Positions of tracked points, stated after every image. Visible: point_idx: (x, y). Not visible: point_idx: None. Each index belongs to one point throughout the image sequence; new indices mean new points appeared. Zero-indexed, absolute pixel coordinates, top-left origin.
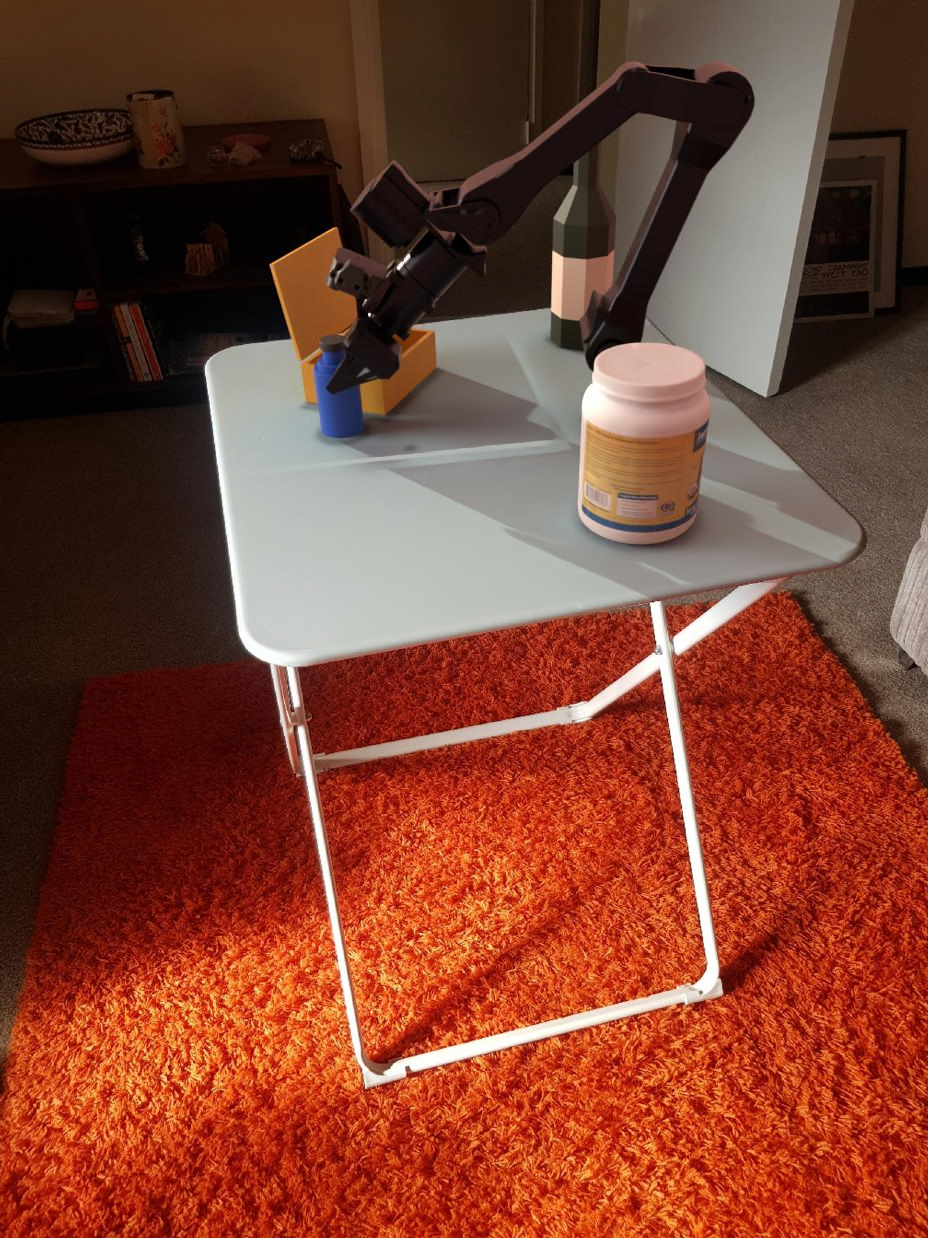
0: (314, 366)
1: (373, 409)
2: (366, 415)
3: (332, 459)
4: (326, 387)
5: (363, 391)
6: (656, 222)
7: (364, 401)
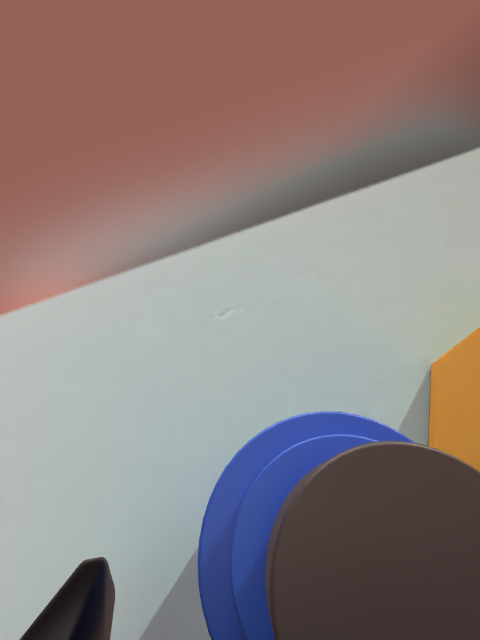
0: (319, 416)
1: None
2: None
3: (116, 543)
4: (77, 567)
5: None
6: None
7: None
